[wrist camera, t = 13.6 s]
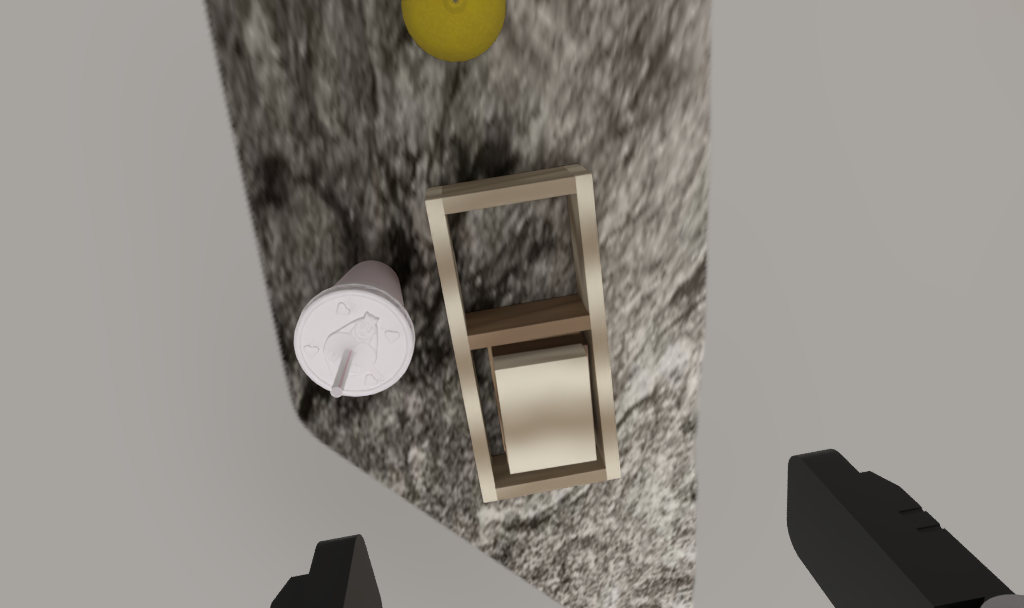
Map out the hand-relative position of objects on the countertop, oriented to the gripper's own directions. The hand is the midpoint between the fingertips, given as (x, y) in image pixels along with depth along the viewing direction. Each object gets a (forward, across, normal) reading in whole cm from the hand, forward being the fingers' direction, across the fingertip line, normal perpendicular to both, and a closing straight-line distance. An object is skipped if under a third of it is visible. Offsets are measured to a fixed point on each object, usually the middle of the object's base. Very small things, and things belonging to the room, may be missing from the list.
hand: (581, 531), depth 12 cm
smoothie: (+32, +8, +5) cm, 34 cm away
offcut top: (+29, -2, +14) cm, 32 cm away
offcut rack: (+32, -2, +10) cm, 34 cm away
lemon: (+32, 0, -11) cm, 34 cm away
